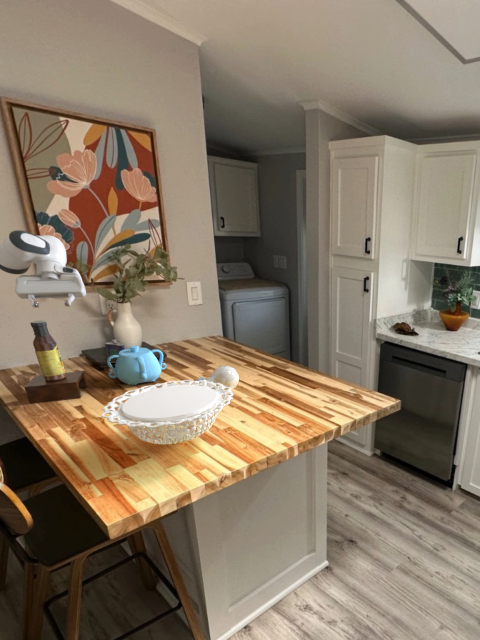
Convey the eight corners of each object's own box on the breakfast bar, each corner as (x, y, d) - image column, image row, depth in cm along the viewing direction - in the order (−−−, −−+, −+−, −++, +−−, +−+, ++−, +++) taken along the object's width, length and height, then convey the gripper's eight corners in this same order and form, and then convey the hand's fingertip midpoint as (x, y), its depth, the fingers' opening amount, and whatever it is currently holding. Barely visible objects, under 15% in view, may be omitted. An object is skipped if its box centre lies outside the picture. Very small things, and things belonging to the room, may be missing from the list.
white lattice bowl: (206, 408, 136) (200, 372, 132) (260, 440, 118) (256, 399, 113) (94, 442, 113) (83, 400, 109) (140, 488, 95) (128, 440, 90)
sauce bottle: (70, 377, 142) (54, 321, 134) (49, 383, 137) (31, 324, 129) (61, 374, 145) (45, 318, 137) (40, 379, 140) (22, 321, 132)
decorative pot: (105, 385, 152) (96, 350, 147) (137, 371, 167) (130, 339, 162) (143, 389, 150) (136, 354, 145) (173, 375, 165) (167, 342, 159)
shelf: (29, 403, 135) (24, 387, 133) (40, 391, 145) (35, 375, 143) (80, 398, 141) (76, 381, 138) (87, 386, 151) (83, 371, 149)
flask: (107, 363, 175) (102, 339, 171) (113, 361, 178) (108, 337, 174) (125, 366, 173) (119, 341, 169) (130, 364, 176) (125, 339, 172)
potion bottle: (243, 391, 155) (203, 404, 147) (231, 371, 158) (191, 384, 149) (244, 376, 148) (203, 390, 140) (232, 357, 151) (191, 369, 142)
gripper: (12, 269, 145) (10, 301, 140) (81, 269, 153) (82, 299, 148) (20, 281, 150) (19, 312, 145) (87, 280, 158) (88, 309, 154)
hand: (51, 306), depth 147 cm, fingers open, 8 cm apart
